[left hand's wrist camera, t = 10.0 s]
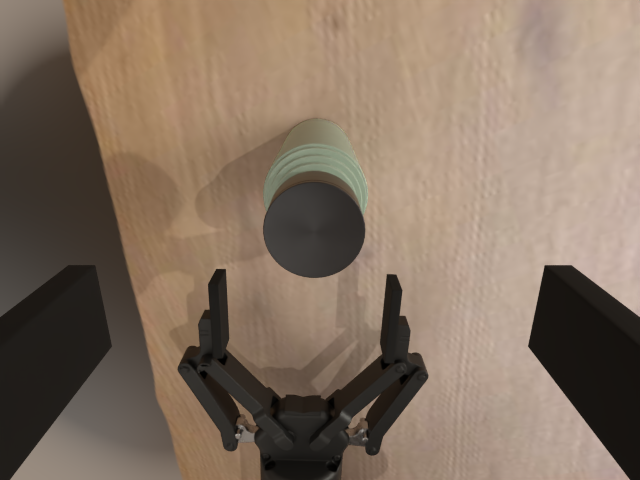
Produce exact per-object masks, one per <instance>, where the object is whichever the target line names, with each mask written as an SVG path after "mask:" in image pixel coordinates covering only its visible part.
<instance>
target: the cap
mask: <svg viewBox="0 0 640 480" xmlns="http://www.w3.org/2000/svg"><path fill="white" fill-rule="evenodd" d="M263 234H264V240H265V243H266V246H267V248H268V251H269V252H270V254H271V256H272V257H273V258H274V259H275V261H276V262H277V263H278V264H279V265H280V266H282V267H283V268H284V269H286V270H288V271H289V272H291V273H294V274H296V275H299V276H303V277H309V278H319V277H326V276H330V275H333V274H335V273H338V272H340V271H341V270H343V269H344V268H346V267H347V266H348V265H350V264H351V263H352V262H353V261H354V259H355V258H356V257H357V255H358V254H359V252H360V250H361V248H362V245H363V243H364V238H365V222H364V217H363V214H362V211H361V207H360V204H359V201H358V198H357V196H356V194H355V193H354V191H353V190H352V188H351V187H350V186H349V185H348V184H347V183H346V182H345V181H343V180H342V179H341V178H339V177H337V176H335V175H333V174H330V173H327V172H322V171H307V172H302V173H299V174H296V175H294V176H292V177H290V178H289V179H287V180H286V181H285V182H284V183H282V184H281V185H280V187H279V188H278V189H277V190H276V192H275V194H274V195H273V198H272V200H271V202H270V205H269V208H268V210H267V213H266V216H265V219H264V226H263Z"/></svg>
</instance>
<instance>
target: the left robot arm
mask: <svg viewBox="0 0 640 480" xmlns="http://www.w3.org/2000/svg"><path fill="white" fill-rule="evenodd" d="M111 347H112V345H111V340H110V335H109V330H108V325H107V320H106V316H105V311H104V306H103V301H102V296H101V291H100V287H99V282H98V277H97V272H96V267H95V265H68V266H67V267H66V268H64V269H63V270H62V271H61V272H59V273H58V274H57V275H55V276H54V277H53V278H51V279H50V280H49V281H47V282H46V283H45V284H43V285H42V286H41V287H39V288H38V289H37V290H35V291H34V292H33V293H32V294H30V295H29V296H28V297H26V298H25V299H24V300H22V301H21V302H20V303H18V304H17V305H16V306H14V307H13V308H12V309H11V310H9V311H8V312H7V313H5V314H4V315H3V316H1V317H0V480H10V479H11V478H12V476H13V475H14V473H15V472H16V471H17V470H18V468H19V467H20V466H21V464H22V463H23V462H24V461H25V459H26V458H27V457H28V455H29V454H30V453H31V451H32V450H33V449H34V447H35V446H36V445H37V443H38V442H39V441H40V440H41V438H42V437H43V436H44V434H45V433H46V432H47V430H48V429H49V428H50V427H51V425H52V424H53V423H54V421H55V420H56V419H57V417H58V416H59V415H60V413H61V412H62V411H63V410H64V408H65V407H66V406H67V404H68V403H69V402H70V400H71V399H72V398H73V396H74V395H75V394H76V393H77V391H78V390H79V389H80V387H81V386H82V385H83V383H84V382H85V381H86V379H87V378H88V377H89V376H90V374H91V373H92V372H93V370H94V369H95V368H96V366H97V365H98V364H99V362H100V361H101V360H102V359H103V357H104V356H105V355H106V353H107V352H108V351H109V349H110V348H111ZM528 347H529V348H530V349H531V351H532V352H533V353H534V355H535V356H536V357H537V359H538V360H539V361H540V363H541V364H542V365H543V366H544V368H545V369H546V370H547V372H548V373H549V374H550V376H551V377H552V378H553V380H554V381H555V382H556V383H557V385H558V386H559V387H560V389H561V390H562V391H563V393H564V394H565V395H566V397H567V398H568V399H569V400H570V402H571V403H572V404H573V406H574V407H575V408H576V410H577V411H578V412H579V413H580V415H581V416H582V417H583V419H584V420H585V421H586V423H587V424H588V425H589V427H590V428H591V429H592V430H593V432H594V433H595V434H596V436H597V437H598V438H599V440H600V441H601V442H602V444H603V445H604V446H605V447H606V449H607V450H608V451H609V453H610V454H611V455H612V457H613V458H614V459H615V461H616V462H617V463H618V464H619V466H620V467H621V468H622V470H623V471H624V472H625V474H626V475H627V476H628V478H629V479H630V480H640V317H639V316H637V315H636V314H635V313H633V312H632V311H631V310H630V309H628V308H627V307H626V306H624V305H623V304H622V303H620V302H619V301H618V300H616V299H615V298H614V297H612V296H611V295H610V294H608V293H607V292H606V291H605V290H603V289H602V288H601V287H599V286H598V285H597V284H595V283H594V282H593V281H591V280H590V279H589V278H587V277H586V276H585V275H583V274H582V273H581V272H580V271H578V270H577V269H576V268H574V267H573V266H572V265H545V267H544V272H543V277H542V281H541V286H540V291H539V296H538V301H537V306H536V311H535V315H534V320H533V325H532V330H531V335H530V340H529V345H528Z"/></svg>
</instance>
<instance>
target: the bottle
mask: <svg viewBox="0 0 640 480" xmlns="http://www.w3.org/2000/svg"><path fill="white" fill-rule="evenodd" d="M307 171H322V172H327V173H330V174H333V175H335V176H337V177H339V178H341V179H342V180H343V181H345V182H346V183H347V184H348V185H349V186H350V187H351V188H352V190H353V191H354V193H355V194H356V196H357V198H358V201H359V204H360V207H361V211H362V214H363V215H364V212H365V209H366V206H367V201H368V188H367V183H366V179H365V176H364V174H363V171H362V169H361V167H360V165H359V162H358V160H357V158H356V155H355V153H354V151H353V148H352V146H351V144H350V142H349V139H348V137H347V135H346V134H345V132H344V131H343V130H342V129H341V128H340V127H339V126H338V125H336V124H335V123H333V122H331V121H328V120H325V119H310V120H306V121H303V122H301V123H300V124H298V125H297V126H295V127H294V128H293V129H292V130H291V132H290V133H289V134H288V136H287V138H286V140H285V142H284V143H283V145H282V147H281V149H280V151H279V153H278V155H277V157H276V159H275V160H274V162H273V164H272V166H271V168H270V170H269V172H268V174H267V177H266V179H265V183H264V190H263V199H264V205H265V208H266V211H267V210H268V208H269V205H270V202H271V200H272V198H273V195H274V194H275V192H276V190H277V189H278V188H279V187H280V185H281V184H282V183H284V182H285V181H286V180H287V179H289V178H290V177H292V176H294V175H296V174H299V173H302V172H307Z"/></svg>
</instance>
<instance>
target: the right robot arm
mask: <svg viewBox="0 0 640 480" xmlns="http://www.w3.org/2000/svg"><path fill="white" fill-rule="evenodd" d="M208 291H209V306H210V310H205V311H204V313H203V315H202V317H201V319H200V321H199V324H198V327H199V340H200V346H199V347H196V346H189V347H188V348H187V350H186V352H185V354H184V356H183V358H182V360H181V362H180V364H179V366H178V372H179V373H180V375H181V376H182V378H183V379H184V380H185V382H186V383H187V385H188V386H189V388H190V389H191V390H192V392H193V393H194V395H195V396H196V398H197V399H198V400H199V402H200V403H201V405H202V406H203V408H204V409H205V410H206V412H207V413H208V415H209V416H210V418H211V419H212V421H213V422H214V423H215V425H216V426H217V428H218V429H219V431H220V432H221V437H222V442H223V447H224V449H226V450H227V451H234V450H236V449H237V446H238V443H244V442H255V443H256V445H257V446H258V448H259V450H260V465H261V480H341V472H342V458H343V452H344V450H345V449H346V448H347V446H348V445H355V446H364V447H365V449H366V453H367V454H368V455H376V454H378V452H379V450H380V446H381V442H382V439H383V436H384V435H385V433H386V432H387V431H388V429H389V428H390V427H391V426H392V424H393V423H394V422H395V420H396V419H397V418H398V417H399V415H400V414H401V413H402V411H403V410H404V409H405V408H406V406H407V405H408V404H409V402H410V401H411V400H412V398H413V397H414V396H415V395H416V393H417V392H418V391H419V389H420V388H421V387H422V386H423V384H424V383H425V382H426V380H427V379H428V373H427V370H426V367H425V364H424V362H423V359H422V356H421V355H420V354H419V353H412V354H411V353H408V346H409V338H410V328H409V325H408V322H407V319H406V317H405V316H399V315H400V306H401V297H402V288H401V286H400V283H399V280H398V278H397V275H393V274H387V279H386V289H385V299H384V309H383V319H382V329H381V339H380V345H381V350H382V355H381V356H379V357H378V358H377V359H376V360H375V361H374V362H373V363H371V364H370V365H369V366H368V367H367V368H366V369H365V370H363V371H362V372H361V373H360V374H359V375H358V376H357V377H355V378H354V379H353V380H352V381H351V382H350V383H349V384H347V385H346V386H345V387H344V388H343V389H342V390H339V389H338V390H336V391H335V392H334V393H333V394H331V395H330V396H329V397H328V398H327V399H326V400H324V399H321V396H316V395H312V396H306V397H301V396H297V395H286V397H285V398H282V399H281V398H280V397H279V396H278V395H277V394H276V393H275V392H274V391H273V390H272V389H271V388H270V387H268V388H266V387H265V386H264V385H263V384H261V383H260V382H259V381H258V380H257V379H256V378H255V377H254V376H253V375H252V374H251V373H250V372H249V371H248V370H247V369H246V368H245V367H244V366H243V365H242V364H241V363H240V362H239V361H238V360H237V359H236V358H235V357H234V356H233V355H232V354H231V353H230V352H228V351H227V350H226V346H227V344H228V341H229V325H228V304H227V284H226V269H216V271H215V272H214V274H213V276H212V278H211V280H210V282H209V284H208ZM229 394H231V395H232V396H233V397H234V398H235V399H236V400H237V401H238V402H239V403H240V404H241V405H242V406H243V407H244V408H246V409H247V410H248V411H249V412H250V413H251V414H252V416H253V420H254V422H255V423H256V426H253V425H250V424H249V423H248V421H247V420H246V419H245V415H244V414H240V413H239V410H238V407H237V406H236V404H235V402H234V401H233V399H232V398H231V396H230V395H229ZM379 395H380V396H379ZM377 396H379V397H378V398H377V400H376V401H375V402H374V404H373V405H372V406H371V408H370V409H369V411H368V413H367V416H366V418H361V419H360V422H359V423H358V425H357V426H356V427H355V428H352V429H349V427H348V425H349V424H350V422H351V420H352V418H353V417H354V416H355V415H356V414H357V413H358V412H359V411H361V410H362V409H363V408H364V407H365V406H367V405H368V404H369V403H370V402H371V401H373V400H374V399H375V398H376V397H377Z"/></svg>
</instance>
